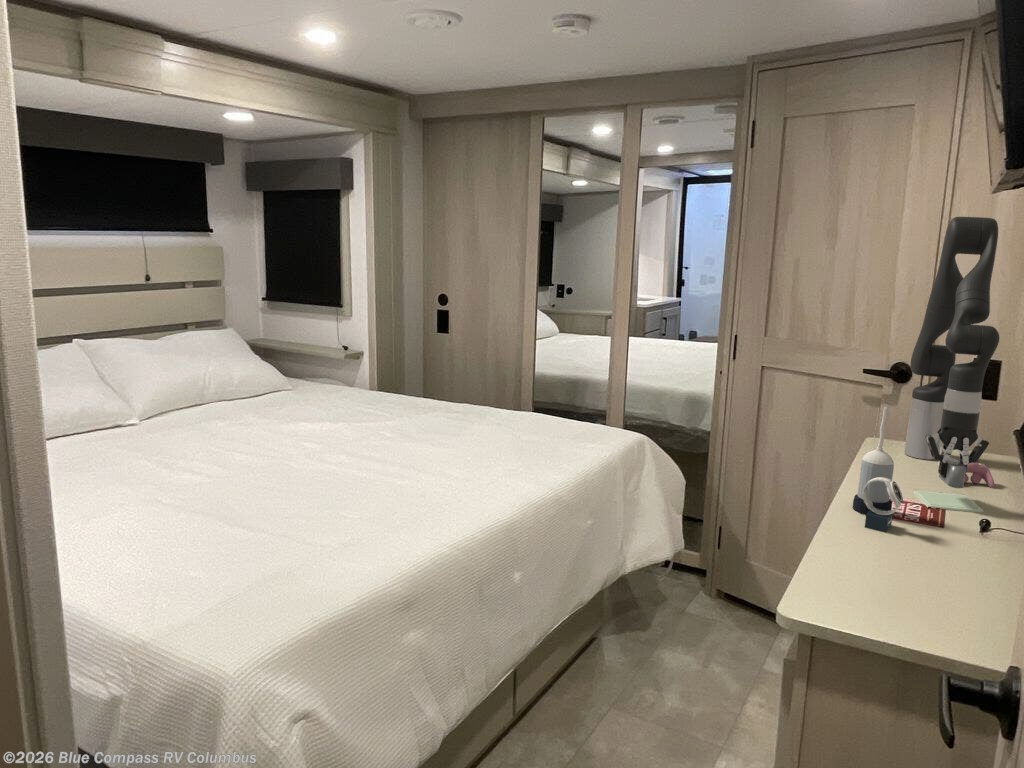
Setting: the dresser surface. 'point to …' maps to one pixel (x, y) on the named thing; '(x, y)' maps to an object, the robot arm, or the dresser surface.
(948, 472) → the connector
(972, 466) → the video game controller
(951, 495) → the mat
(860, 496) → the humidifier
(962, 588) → the dresser surface
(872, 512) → the watch
